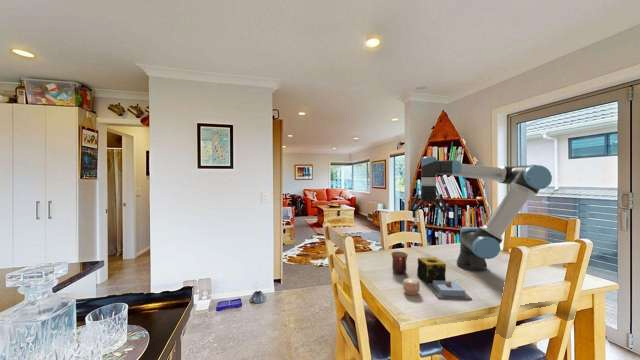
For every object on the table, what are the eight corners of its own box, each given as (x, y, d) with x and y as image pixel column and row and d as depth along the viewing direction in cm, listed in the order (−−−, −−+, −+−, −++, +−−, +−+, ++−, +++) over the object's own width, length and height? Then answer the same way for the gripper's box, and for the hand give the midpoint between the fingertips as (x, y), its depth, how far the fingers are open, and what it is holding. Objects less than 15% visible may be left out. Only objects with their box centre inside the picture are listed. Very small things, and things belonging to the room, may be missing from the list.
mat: (456, 285, 121) (456, 284, 121) (471, 299, 107) (471, 298, 107) (426, 284, 122) (426, 283, 122) (438, 298, 108) (438, 297, 108)
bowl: (416, 289, 117) (416, 278, 117) (421, 296, 110) (421, 284, 110) (401, 288, 118) (401, 277, 118) (405, 296, 111) (405, 284, 111)
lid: (454, 285, 119) (454, 277, 119) (464, 296, 109) (464, 287, 109) (432, 285, 120) (432, 277, 120) (441, 295, 110) (441, 286, 110)
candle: (416, 276, 133) (416, 257, 132) (434, 275, 134) (435, 256, 133) (426, 284, 123) (426, 264, 122) (446, 283, 123) (446, 263, 123)
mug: (390, 268, 143) (390, 251, 143) (406, 270, 141) (406, 251, 141) (392, 277, 131) (392, 257, 131) (409, 278, 129) (409, 259, 129)
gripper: (449, 184, 140) (448, 222, 140) (403, 184, 141) (403, 222, 142) (455, 185, 132) (455, 225, 133) (407, 185, 134) (406, 224, 134)
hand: (428, 223), depth 137 cm, fingers open, 13 cm apart
